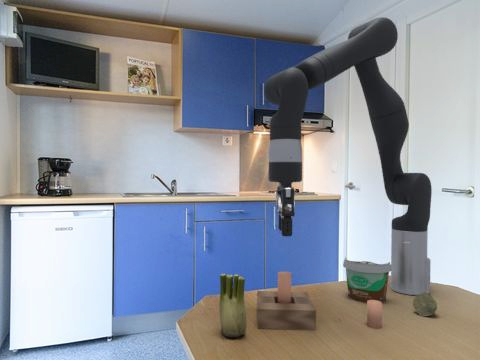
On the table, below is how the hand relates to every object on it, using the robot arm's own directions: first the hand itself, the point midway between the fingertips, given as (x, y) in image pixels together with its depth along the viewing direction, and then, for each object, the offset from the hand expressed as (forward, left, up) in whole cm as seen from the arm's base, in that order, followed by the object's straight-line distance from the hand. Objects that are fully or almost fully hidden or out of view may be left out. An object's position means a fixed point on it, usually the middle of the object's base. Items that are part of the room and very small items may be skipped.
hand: (285, 233), depth 80 cm
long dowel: (0, 0, -19) cm, 19 cm away
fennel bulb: (+11, +9, -19) cm, 24 cm away
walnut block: (0, 0, -19) cm, 19 cm away
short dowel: (-19, +3, -19) cm, 27 cm away
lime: (-33, -4, -19) cm, 38 cm away
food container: (-22, -13, -19) cm, 32 cm away
